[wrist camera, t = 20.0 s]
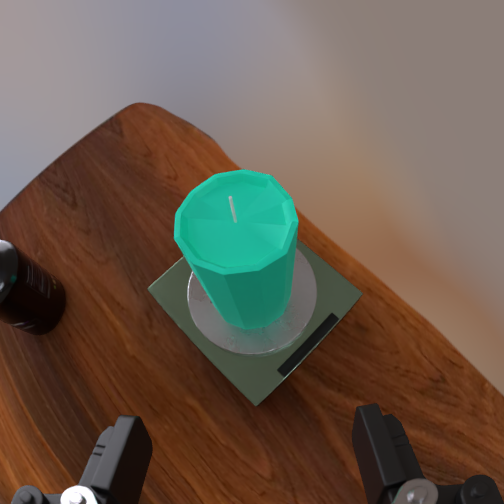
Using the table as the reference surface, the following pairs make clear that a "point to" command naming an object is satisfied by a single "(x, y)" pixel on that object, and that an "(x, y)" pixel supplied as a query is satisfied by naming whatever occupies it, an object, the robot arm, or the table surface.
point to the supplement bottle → (28, 292)
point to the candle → (241, 244)
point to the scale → (265, 338)
